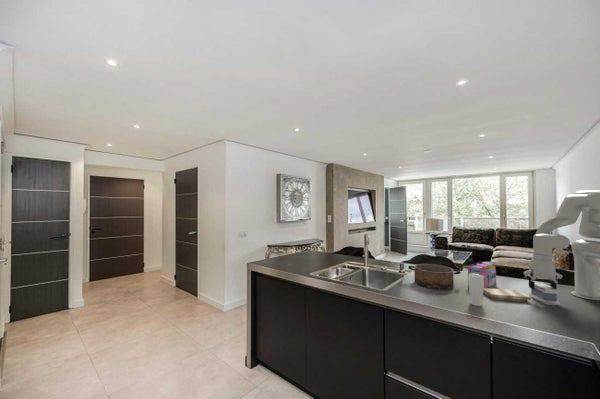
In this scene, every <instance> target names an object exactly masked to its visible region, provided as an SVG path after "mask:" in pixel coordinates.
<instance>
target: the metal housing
mask: <svg viewBox="0 0 600 399" xmlns="http://www.w3.org/2000/svg"><path fill="white" fill-rule="evenodd" d="M534 282H535V281H534ZM530 290H531V292H529V296H530V297H531V299H532V298H533V300H536V301H537V302H540V303H542V304H544V305H549V306H550V305H551V306H560V301H559V300H558V297H557V296H558V295H559V294H560V289H559V288H557V289H556V288H553V287H551V286H550V285H548V284H546V283H544V282H537V281H536V282H535V289H531V288H530Z"/></svg>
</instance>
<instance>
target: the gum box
mask: <svg viewBox="0 0 600 399" xmlns="http://www.w3.org/2000/svg"><path fill="white" fill-rule="evenodd" d="M496 270H497V267H496V262H493V263H492V262H487V261H485V260H483V261H482V260H481V261H479V262H476V263H471V264H469V265H468V264H467V275H468V274H479V275H482V276H484V288H489V287H492V286H494V285H496V284H497V271H496ZM467 287H468V288H469V286H468V285H467Z"/></svg>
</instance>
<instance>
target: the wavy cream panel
mask: <svg viewBox="0 0 600 399" xmlns="http://www.w3.org/2000/svg"><path fill="white" fill-rule="evenodd" d="M483 293H484V295H486V296H487V297H489V298H490V299H491V300H494V301H495V300H496V301H506V300H508V301H507V302H520V301H521V302H522V303H527V302H528V301H531V300H532V297H530V295H527V294H525V293H524V292H523V291H520V290H518V289H505V288H502V289H501V288H489V287H488V288H484V289H483Z"/></svg>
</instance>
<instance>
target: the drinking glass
mask: <svg viewBox="0 0 600 399" xmlns="http://www.w3.org/2000/svg"><path fill="white" fill-rule="evenodd" d="M468 286H469V287H468ZM467 287H468V292H469V303H470V304H471V305H472V306H475V307H482V306H483V300H484V299H483V298H484V292H483V289H484V276H482V275H479V274H468V273H467Z"/></svg>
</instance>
